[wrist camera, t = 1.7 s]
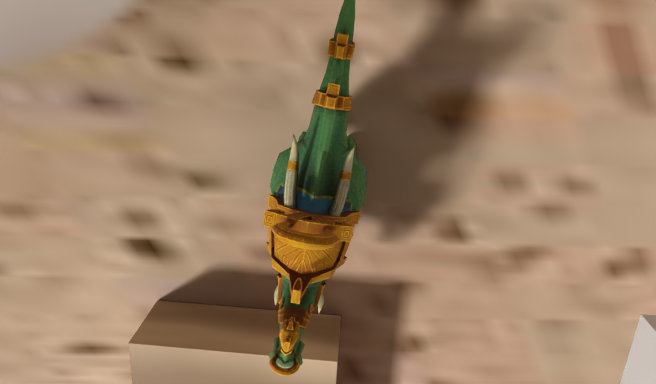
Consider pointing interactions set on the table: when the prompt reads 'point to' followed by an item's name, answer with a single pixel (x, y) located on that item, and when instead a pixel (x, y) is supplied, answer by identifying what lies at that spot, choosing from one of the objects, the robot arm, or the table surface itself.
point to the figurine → (314, 202)
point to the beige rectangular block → (226, 346)
